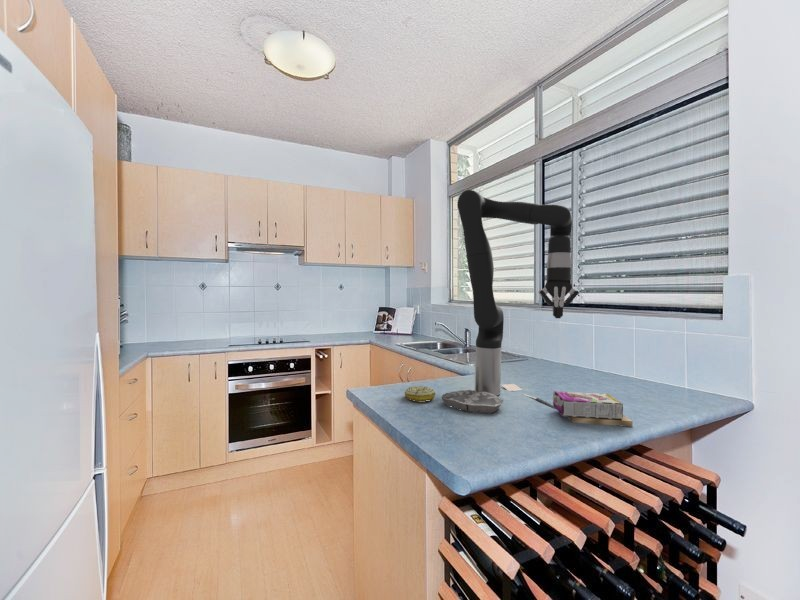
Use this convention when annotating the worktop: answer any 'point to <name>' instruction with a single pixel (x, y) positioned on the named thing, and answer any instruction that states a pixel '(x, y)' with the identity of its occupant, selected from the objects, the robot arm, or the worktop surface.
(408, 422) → the worktop surface
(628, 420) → the bamboo board
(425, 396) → the decorated donut
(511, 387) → the spatula
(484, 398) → the flat grey stone
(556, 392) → the candy bar box
